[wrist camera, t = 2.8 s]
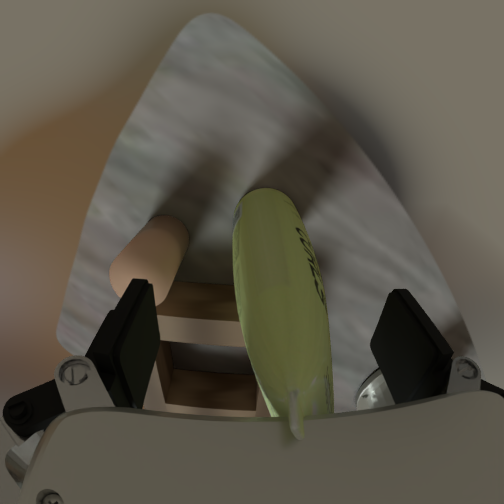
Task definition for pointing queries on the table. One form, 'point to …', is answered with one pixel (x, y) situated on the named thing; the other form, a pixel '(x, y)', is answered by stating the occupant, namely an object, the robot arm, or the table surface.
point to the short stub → (152, 256)
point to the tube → (282, 307)
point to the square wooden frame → (201, 332)
